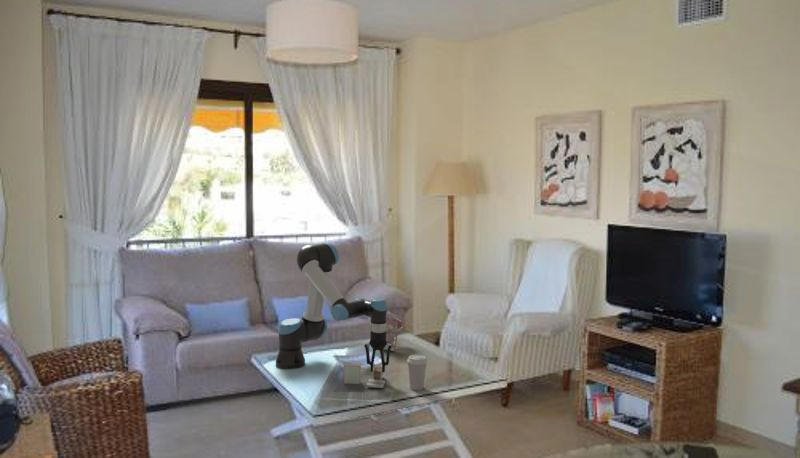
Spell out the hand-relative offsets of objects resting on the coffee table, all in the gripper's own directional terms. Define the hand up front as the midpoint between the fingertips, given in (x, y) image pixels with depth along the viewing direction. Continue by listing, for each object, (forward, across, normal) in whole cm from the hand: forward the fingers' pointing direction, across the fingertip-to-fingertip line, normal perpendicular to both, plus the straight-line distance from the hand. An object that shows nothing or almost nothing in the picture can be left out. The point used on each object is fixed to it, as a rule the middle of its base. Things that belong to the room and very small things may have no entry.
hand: (377, 378), depth 322 cm
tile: (+2, -12, -4) cm, 12 cm away
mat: (+2, -12, -9) cm, 15 cm away
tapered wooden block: (+1, 0, -3) cm, 3 cm away
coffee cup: (+2, +19, -5) cm, 20 cm away
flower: (+3, -2, +60) cm, 60 cm away
